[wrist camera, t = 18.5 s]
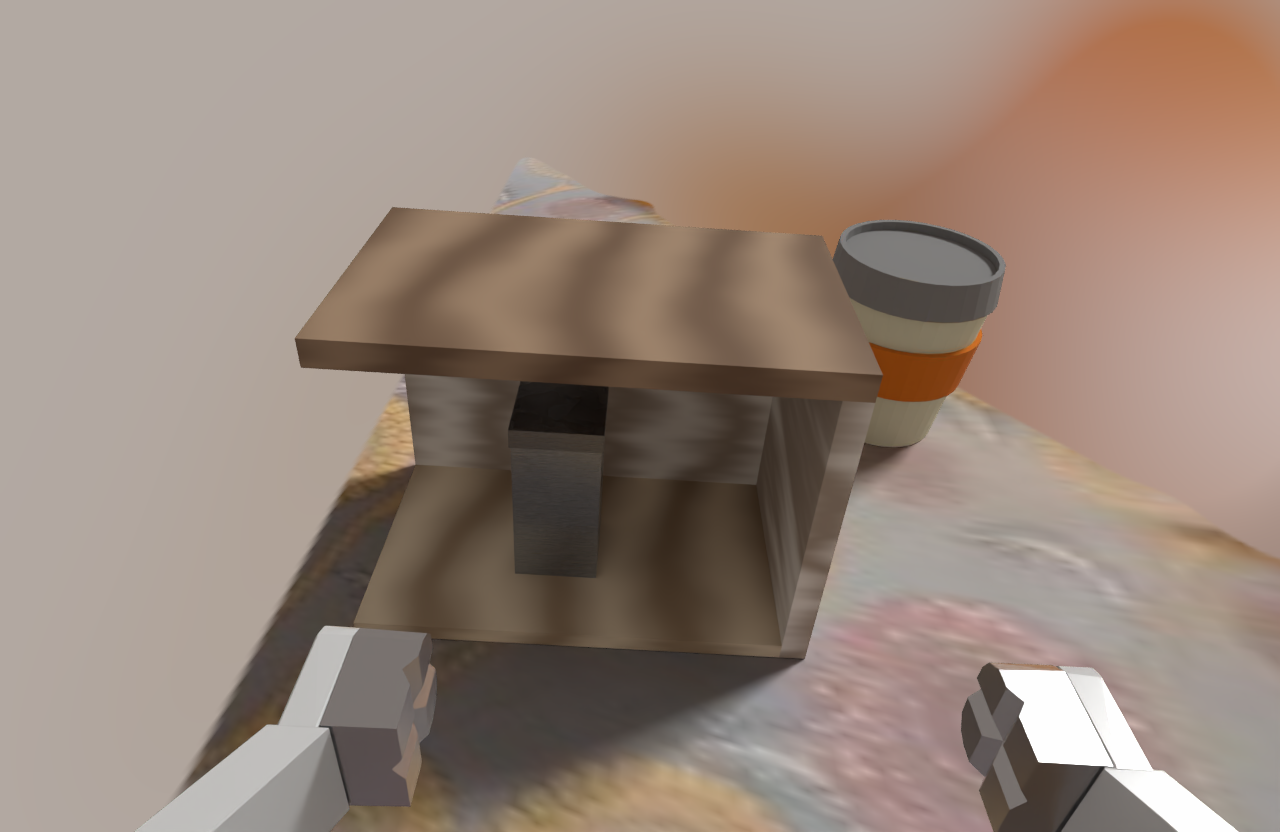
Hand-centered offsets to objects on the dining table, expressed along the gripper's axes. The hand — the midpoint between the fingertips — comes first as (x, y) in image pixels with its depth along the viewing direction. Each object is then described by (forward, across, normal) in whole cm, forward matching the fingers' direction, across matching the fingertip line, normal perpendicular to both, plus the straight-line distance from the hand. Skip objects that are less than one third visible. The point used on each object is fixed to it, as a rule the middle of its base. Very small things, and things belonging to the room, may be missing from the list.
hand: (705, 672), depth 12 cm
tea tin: (+30, +5, +27) cm, 41 cm away
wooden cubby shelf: (+31, +3, +28) cm, 42 cm away
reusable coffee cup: (+49, -20, +28) cm, 60 cm away
